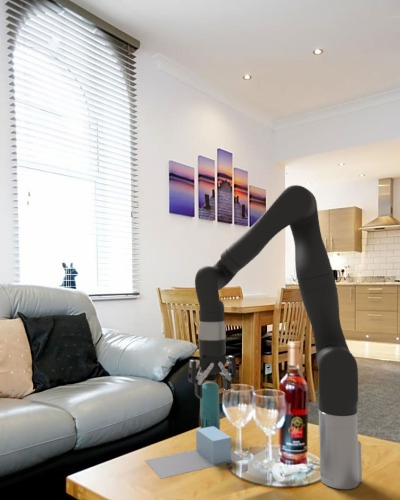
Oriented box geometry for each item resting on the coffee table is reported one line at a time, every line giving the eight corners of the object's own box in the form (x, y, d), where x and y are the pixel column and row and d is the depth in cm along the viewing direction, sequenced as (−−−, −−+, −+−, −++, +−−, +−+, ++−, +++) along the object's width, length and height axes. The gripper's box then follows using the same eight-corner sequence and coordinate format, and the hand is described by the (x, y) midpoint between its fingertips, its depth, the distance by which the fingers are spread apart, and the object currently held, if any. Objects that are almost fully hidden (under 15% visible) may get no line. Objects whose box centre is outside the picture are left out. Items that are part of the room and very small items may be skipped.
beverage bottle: (222, 433, 142) (221, 370, 143) (217, 440, 135) (216, 375, 136) (203, 431, 143) (202, 369, 145) (197, 438, 137) (196, 374, 138)
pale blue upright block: (213, 447, 126) (213, 426, 127) (231, 460, 118) (231, 437, 118) (196, 450, 124) (196, 429, 124) (213, 464, 115) (212, 441, 115)
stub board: (221, 449, 129) (221, 433, 129) (243, 464, 118) (243, 447, 118) (144, 465, 118) (144, 448, 118) (161, 484, 107) (161, 466, 107)
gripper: (195, 340, 116) (196, 402, 115) (240, 336, 122) (241, 395, 122) (183, 337, 123) (184, 396, 122) (227, 333, 129) (228, 389, 128)
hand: (213, 395), depth 122 cm, fingers open, 8 cm apart
